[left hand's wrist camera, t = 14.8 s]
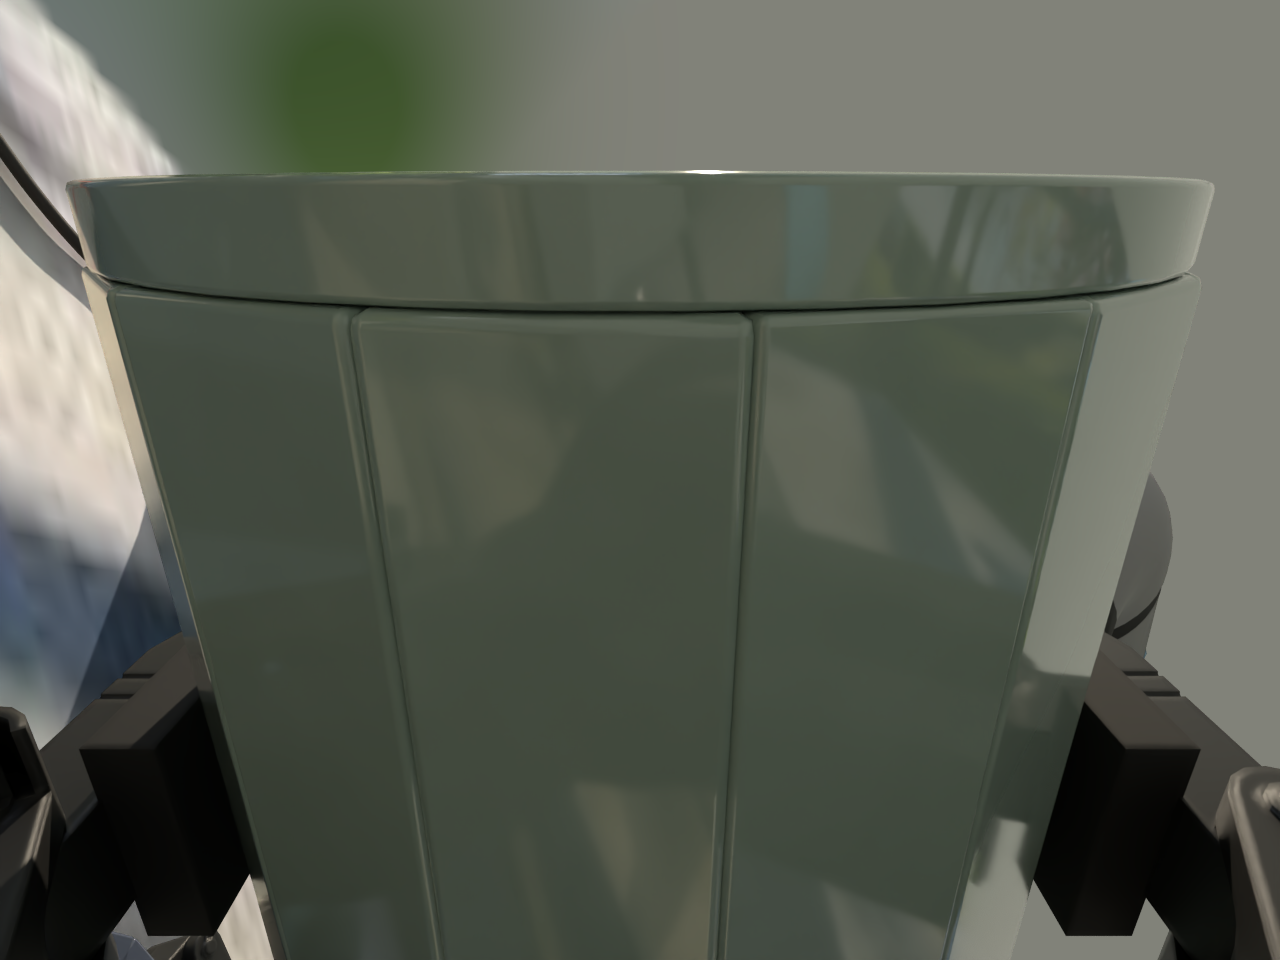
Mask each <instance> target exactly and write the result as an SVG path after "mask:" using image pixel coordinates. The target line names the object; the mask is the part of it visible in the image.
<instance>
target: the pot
mask: <svg viewBox="0 0 1280 960" xmlns="http://www.w3.org/2000/svg"><path fill="white" fill-rule="evenodd" d="M111 933H112V935H113V938H114V940H115V943H116V946H117V952H118V957H119V960H154V959H153V958H152V956H151V955H150V954H149V953H148V952H147V951H146V950H145V948H144V947H143V946H142V945H141V944H140V943H139V941H138V940H137V939H134V938H133V937H131V936H128V935H124V934H120V933H116V932H111Z"/></svg>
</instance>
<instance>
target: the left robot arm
mask: <svg viewBox="0 0 1280 960" xmlns="http://www.w3.org/2000/svg"><path fill="white" fill-rule="evenodd" d="M249 874H250V872H249V869H248V865H247V862H246V858H245V854H244V851H243V847H242V844H241V840H240V837H239V833H238V830H237V826H236V822H235V819H234V815H233V812H232V808H231V805H230V801H229V798H228V794H227V790H226V787H225V783H224V780H223V776H222V773H221V769H220V766H219V762H218V758H217V755H216V751H215V748H214V744H213V741H212V737H211V734H210V730H209V726H208V723H207V719H206V716H205V712H204V709H203V705H202V702H201V698H200V694H199V691H198V687H197V684H196V680H195V677H194V673H193V670H192V666H191V662H190V659H189V655H188V652H187V648H186V645H185V641H184V638H183V634H182V631H181V632H179V633H178V634H176V635H174V636H172V637H171V638H169V639H167V640H165V641H164V642H162V643H160V644H158V645H157V646H155V647H153V648H151V649H149V650H148V651H147V652H146V653H145V654H144V655H143V656H142V657H141V658H140V659H138V660H137V661H136V662H135V663H134V664H133V665H132V666H131V667H130V668H129V669H128V670H126V671H125V672H124V673H123V678H122V679H117V680H116V681H115V682H113V683H112V684H111V685H110V686H109V687H108V688H107V689H106V690H105V691H104V692H103V693H102V694H101V698H100V699H95V700H94V701H93V702H92V703H91V704H90V705H89V706H87V707H86V708H85V709H84V710H83V711H82V712H81V713H80V714H79V715H78V716H77V717H75V718H74V719H73V720H72V721H71V722H70V723H69V724H68V725H67V726H66V727H65V728H64V729H62V730H61V731H60V732H59V733H58V734H57V735H56V736H55V737H54V738H53V739H52V740H51V741H49V742H48V743H47V744H46V745H45V746H44V747H43V748H42V749H41V750H40V751H39V749H38V747H37V744H36V742H35V739H34V737H33V734H32V732H31V729H30V727H29V724H28V722H27V719H26V717H25V715H24V714H23V713H21V712H19V711H17V710H16V709H14V708H12V707H0V960H119V957H118V952H117V946H116V943H115V940H114V938H113V935H112V933H111V932H112V931H113V930H114V928H115V927H116V925H117V924H118V923H119V921H120V920H121V919H122V917H123V916H124V914H125V913H126V912H127V910H128V909H129V907H130V906H131V905H132V903H133V902H134V900H135V902H136V905H137V908H138V910H139V913H140V916H141V918H142V921H143V924H144V926H145V929H146V932H147V934H148V936H214V935H215V933H216V931H217V929H218V928H219V926H220V924H221V923H222V921H223V919H224V917H225V916H226V914H227V912H228V910H229V909H230V907H231V905H232V903H233V902H234V900H235V898H236V897H237V895H238V893H239V891H240V890H241V888H242V886H243V884H244V883H245V881H246V879H247V877H248V876H249ZM1033 879H1034V881H1035V883H1036V885H1037V886H1038V888H1039V890H1040V892H1041V893H1042V895H1043V897H1044V899H1045V900H1046V902H1047V904H1048V905H1049V907H1050V909H1051V911H1052V912H1053V914H1054V916H1055V918H1056V919H1057V921H1058V923H1059V925H1060V926H1061V928H1062V930H1063V931H1064V933H1065V935H1066V936H1132V934H1133V931H1134V928H1135V926H1136V923H1137V920H1138V918H1139V915H1140V912H1141V910H1142V907H1143V904H1144V901H1145V899H1146V898H1147V900H1148V901H1149V902H1150V904H1151V905H1152V906H1153V908H1154V909H1155V911H1156V912H1157V913H1158V915H1159V916H1160V917H1161V919H1162V920H1163V922H1164V923H1165V924H1166V926H1167V927H1168V929H1169V933H1168V935H1167V938H1166V940H1165V943H1164V945H1163V948H1162V950H1161V953H1160V955H1159V958H1158V960H1280V769H1277V768H1272V767H1267V766H1261V765H1260V764H1258V763H1257V762H1256V761H1255V760H1254V759H1253V758H1252V757H1251V756H1250V755H1249V754H1248V753H1246V752H1245V751H1244V750H1243V749H1242V748H1241V747H1240V746H1239V745H1238V744H1237V743H1236V742H1234V741H1233V740H1232V739H1231V738H1230V737H1229V736H1228V735H1227V734H1226V733H1225V732H1224V731H1222V730H1221V729H1220V728H1219V727H1218V726H1217V725H1216V724H1215V723H1214V722H1213V721H1211V720H1210V719H1209V718H1208V717H1207V716H1206V715H1205V714H1204V713H1203V712H1202V711H1201V710H1200V709H1198V708H1197V707H1196V706H1195V705H1194V704H1193V703H1192V702H1191V701H1190V700H1189V699H1187V698H1186V697H1181V696H1180V691H1179V690H1178V689H1177V688H1175V687H1174V686H1173V685H1172V684H1171V683H1170V682H1169V681H1168V680H1167V679H1166V678H1165V677H1163V676H1158V671H1157V670H1156V669H1155V668H1154V667H1153V666H1151V665H1150V664H1149V663H1148V662H1147V661H1146V660H1145V659H1144V658H1143V657H1142V656H1141V655H1139V654H1138V653H1137V652H1136V651H1135V650H1134V649H1133V648H1132V647H1130V646H1128V645H1127V644H1125V643H1123V642H1121V641H1120V640H1118V639H1116V638H1114V637H1112V636H1111V635H1109V634H1107V633H1105V632H1104V633H1103V636H1102V640H1101V643H1100V647H1099V650H1098V654H1097V657H1096V661H1095V664H1094V668H1093V671H1092V675H1091V678H1090V682H1089V685H1088V689H1087V692H1086V696H1085V699H1084V703H1083V706H1082V710H1081V713H1080V717H1079V720H1078V724H1077V727H1076V731H1075V734H1074V738H1073V741H1072V745H1071V748H1070V752H1069V755H1068V759H1067V762H1066V766H1065V769H1064V773H1063V776H1062V780H1061V783H1060V787H1059V790H1058V794H1057V797H1056V801H1055V804H1054V808H1053V812H1052V815H1051V819H1050V822H1049V826H1048V829H1047V833H1046V836H1045V840H1044V843H1043V847H1042V850H1041V854H1040V857H1039V861H1038V864H1037V868H1036V871H1035V875H1034V878H1033Z"/></svg>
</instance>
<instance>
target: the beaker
mask: <svg viewBox="0 0 1280 960" xmlns="http://www.w3.org/2000/svg"><path fill="white" fill-rule="evenodd" d="M1214 192H1215V188H1214V184H1213V183H1210V182H1207V181H1205V180H1200V179H1187V178H1169V177H1143V176H1109V175H1067V174H1006V173H929V172H809V171H804V172H803V171H458V172H334V173H258V174H200V175H160V176H126V177H105V178H87V179H78V180H72V181H70V182H67V185H66V193H67V197H68V200H69V204H70V207H71V211H72V215H73V218H74V222H75V225H76V229H77V233H78V236H79V240H80V243H81V247H82V251H83V254H84V258H85V262H86V265H87V267H85V268H83V270H82V278H83V282H84V286H85V289H86V293H87V296H88V300H89V303H90V307H91V310H92V314H93V318H94V321H95V325H96V328H97V332H98V335H99V339H100V342H101V346H102V350H103V353H104V357H105V360H106V364H107V367H108V371H109V374H110V378H111V382H112V385H113V389H114V392H115V396H116V399H117V403H118V406H119V410H120V414H121V417H122V421H123V424H124V428H125V431H126V435H127V438H128V442H129V446H130V449H131V453H132V456H133V460H134V463H135V467H136V470H137V474H138V478H139V481H140V485H141V488H142V492H143V495H144V499H145V502H146V506H147V510H148V513H149V517H150V520H151V524H152V527H153V531H154V534H155V538H156V542H157V545H158V549H159V552H160V556H161V559H162V563H163V566H164V570H165V574H166V577H167V581H168V584H169V588H170V591H171V595H172V598H173V602H174V606H175V609H176V613H177V616H178V620H179V623H180V627H181V630H182V634H183V638H184V641H185V645H186V648H187V652H188V655H189V659H190V662H191V666H192V670H193V673H194V677H195V680H196V684H197V687H198V691H199V694H200V698H201V702H202V705H203V709H204V712H205V716H206V719H207V723H208V726H209V730H210V734H211V737H212V741H213V744H214V748H215V751H216V755H217V758H218V762H219V766H220V769H221V773H222V776H223V780H224V783H225V787H226V790H227V794H228V798H229V801H230V805H231V808H232V812H233V815H234V819H235V822H236V826H237V830H238V833H239V837H240V840H241V844H242V847H243V851H244V854H245V858H246V862H247V865H248V869H249V872H250V876H251V879H252V883H253V886H254V890H255V894H256V897H257V901H258V904H259V908H260V911H261V915H262V918H263V922H264V926H265V929H266V933H267V936H268V940H269V943H270V947H271V950H272V954H273V958H274V960H1010V959H1011V955H1012V952H1013V948H1014V945H1015V941H1016V938H1017V934H1018V931H1019V927H1020V924H1021V920H1022V917H1023V913H1024V909H1025V906H1026V903H1027V899H1028V896H1029V892H1030V889H1031V885H1032V882H1033V878H1034V875H1035V871H1036V868H1037V864H1038V861H1039V857H1040V854H1041V850H1042V847H1043V843H1044V840H1045V836H1046V833H1047V829H1048V826H1049V822H1050V819H1051V815H1052V812H1053V808H1054V804H1055V801H1056V797H1057V794H1058V790H1059V787H1060V783H1061V780H1062V776H1063V773H1064V769H1065V766H1066V762H1067V759H1068V755H1069V752H1070V748H1071V745H1072V741H1073V738H1074V734H1075V731H1076V727H1077V724H1078V720H1079V717H1080V713H1081V710H1082V706H1083V703H1084V699H1085V696H1086V692H1087V689H1088V685H1089V682H1090V678H1091V675H1092V671H1093V668H1094V664H1095V661H1096V657H1097V654H1098V650H1099V647H1100V643H1101V640H1102V636H1103V633H1104V629H1105V626H1106V622H1107V619H1108V615H1109V612H1110V608H1111V605H1112V601H1113V598H1114V594H1115V591H1116V587H1117V584H1118V580H1119V577H1120V573H1121V570H1122V566H1123V563H1124V559H1125V556H1126V552H1127V549H1128V545H1129V542H1130V538H1131V535H1132V531H1133V528H1134V524H1135V521H1136V517H1137V514H1138V510H1139V507H1140V503H1141V500H1142V496H1143V493H1144V489H1145V486H1146V482H1147V479H1148V475H1149V472H1150V468H1151V465H1152V461H1153V458H1154V454H1155V451H1156V447H1157V444H1158V440H1159V436H1160V433H1161V430H1162V426H1163V423H1164V419H1165V416H1166V412H1167V408H1168V405H1169V402H1170V398H1171V395H1172V391H1173V388H1174V384H1175V380H1176V377H1177V374H1178V370H1179V366H1180V363H1181V360H1182V356H1183V353H1184V349H1185V345H1186V342H1187V338H1188V335H1189V331H1190V328H1191V324H1192V321H1193V317H1194V314H1195V310H1196V307H1197V303H1198V300H1199V296H1200V293H1201V289H1202V286H1201V281H1200V278H1199V277H1197V276H1195V275H1193V274H1191V273H1189V272H1187V271H1188V270H1189V269H1190V268H1191V266H1192V265H1193V264H1194V263H1195V260H1196V256H1197V253H1198V249H1199V245H1200V242H1201V238H1202V235H1203V231H1204V227H1205V224H1206V220H1207V217H1208V213H1209V210H1210V206H1211V202H1212V199H1213V195H1214Z"/></svg>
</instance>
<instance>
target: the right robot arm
mask: <svg viewBox="0 0 1280 960" xmlns="http://www.w3.org/2000/svg"><path fill="white" fill-rule="evenodd" d="M0 158H1V159H2V161H3V162H4V164H5V165H6V166H7V168H8V169H9V170H10V172H11V173H12V175H13V176H14V177H15V179H16V180H17V181H18V183H19V184H20V185H21V187H22V188H23V189H24V191H25V192H26V193H27V194H28V196H29V197H30V198H31V199H32V201H33V202H34V203H35V204H36V206H37V207H38V208H39V209H40V211H41V212H42V213H43V214H44V215H45V217H46V218H47V219H48V220H49V221H50V222H51V224H52V225H53V226H54V227H55V228H56V229H57V231H58V232H59V233H60V234H61V235H62V236H63V237H64V239H65V240H66V241H67V242H68V243H69V244H70V245H71V246H72V247H73V248H74V250H75V251H76V252H77V253H78V254H79V255H80V256H81V257H82V258H83V259H84V260H85V258H84V254H83V251H82V247H81V243H80V240H79V236H78V234H77V233H76V232H75V231H74V230H73V228H72V227H71V226H70V225H69V224H68V223H67V221H66V220H65V219H64V218H63V217H62V216H61V214H60V213H59V212H58V211H57V210H56V208H55V207H54V206H53V205H52V203H51V202H50V201H49V200H48V198H47V197H46V196H45V195H44V193H43V192H42V191H41V189H40V188H39V187H38V186H37V184H36V183H35V182H34V180H33V179H32V178H31V176H30V175H29V173H28V172H27V171H26V169H25V168H24V167H23V165H22V164H21V162H20V161H19V160H18V158H17V157H16V155H15V154H14V152H13V151H12V150H11V148H10V147H9V145H8V144H7V142H6V141H5V139H4V138H3V137H2V135H1V134H0ZM1172 538H1173V537H1172V526H1171V518H1170V512H1169V509H1168V505H1167V502H1166V499H1165V496H1164V494H1163V492H1162V491H1161V489H1160V487H1159V485H1158V484H1157V482H1156V480H1155V478H1154V476H1153V475H1152V473H1151V472H1149V475H1148V479H1147V482H1146V486H1145V489H1144V493H1143V496H1142V500H1141V503H1140V507H1139V510H1138V514H1137V517H1136V521H1135V524H1134V528H1133V531H1132V535H1131V538H1130V542H1129V545H1128V549H1127V552H1126V556H1125V559H1124V563H1123V566H1122V570H1121V573H1120V577H1119V580H1118V584H1117V587H1116V591H1115V594H1114V598H1113V601H1112V605H1111V608H1110V612H1109V615H1108V619H1107V622H1106V626H1105V629H1104V632H1105V633H1107V634H1109V635H1111V636H1112V637H1114V638H1116V639H1118V640H1120V641H1121V642H1123V643H1125V644H1127V645H1128V646H1130V647H1132V648H1133V649H1134V650H1135V651H1136V652H1137V653H1138V654H1139V655H1141V656H1142V657H1143V658H1145V656H1146V654H1147V653H1146V645H1147V641H1148V637H1149V633H1150V629H1151V625H1152V621H1153V617H1154V613H1155V609H1156V605H1157V601H1158V597H1159V594H1160V591H1161V587H1162V585H1163V583H1164V580H1165V577H1166V574H1167V570H1168V566H1169V562H1170V557H1171V550H1172ZM146 951H147V952H148V953H149V954H150V955H151V956H152V958H153V959H154V960H231V958H230V956H229V954H228V952H227V949H226V947H225V945H224V943H223V940H222V938H221V936H220V934H219V933H218V932H217V931H216V933H215V935H214V936H183V937H180V938H177V939H174V940H171V941H168V942H165V943H161V944H158V945H155V946H152V947H151V948H149V949H148V950H146Z"/></svg>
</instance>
